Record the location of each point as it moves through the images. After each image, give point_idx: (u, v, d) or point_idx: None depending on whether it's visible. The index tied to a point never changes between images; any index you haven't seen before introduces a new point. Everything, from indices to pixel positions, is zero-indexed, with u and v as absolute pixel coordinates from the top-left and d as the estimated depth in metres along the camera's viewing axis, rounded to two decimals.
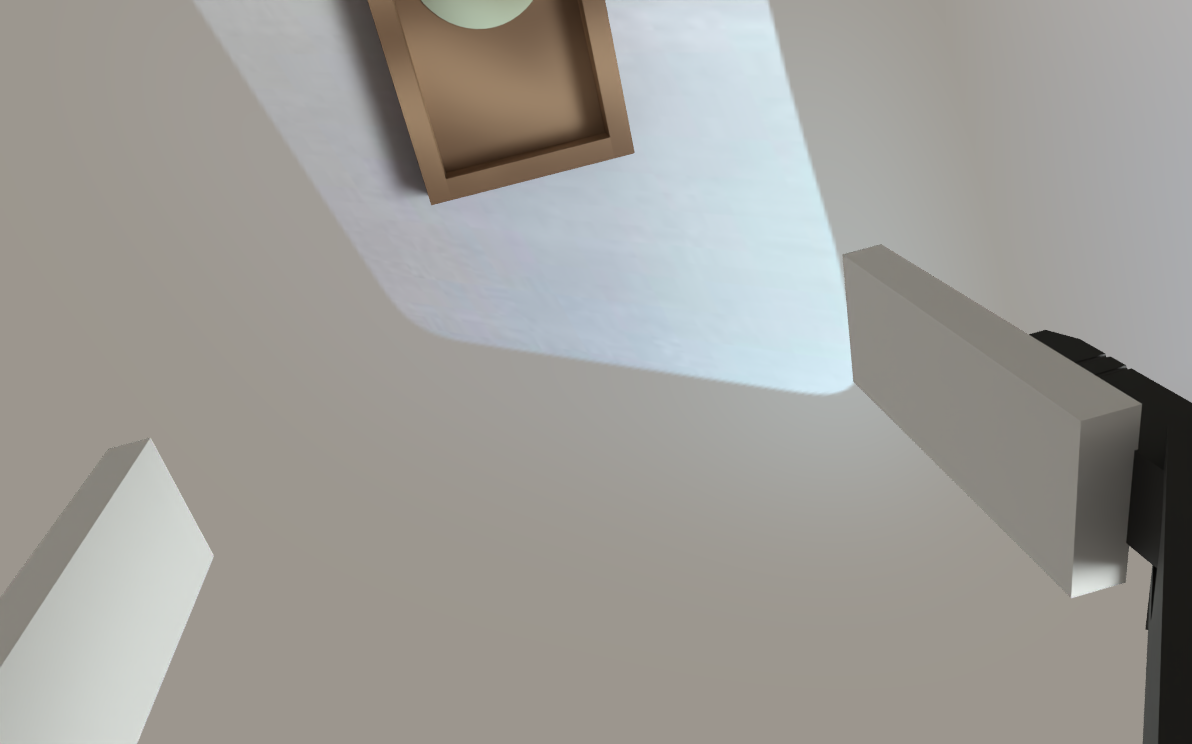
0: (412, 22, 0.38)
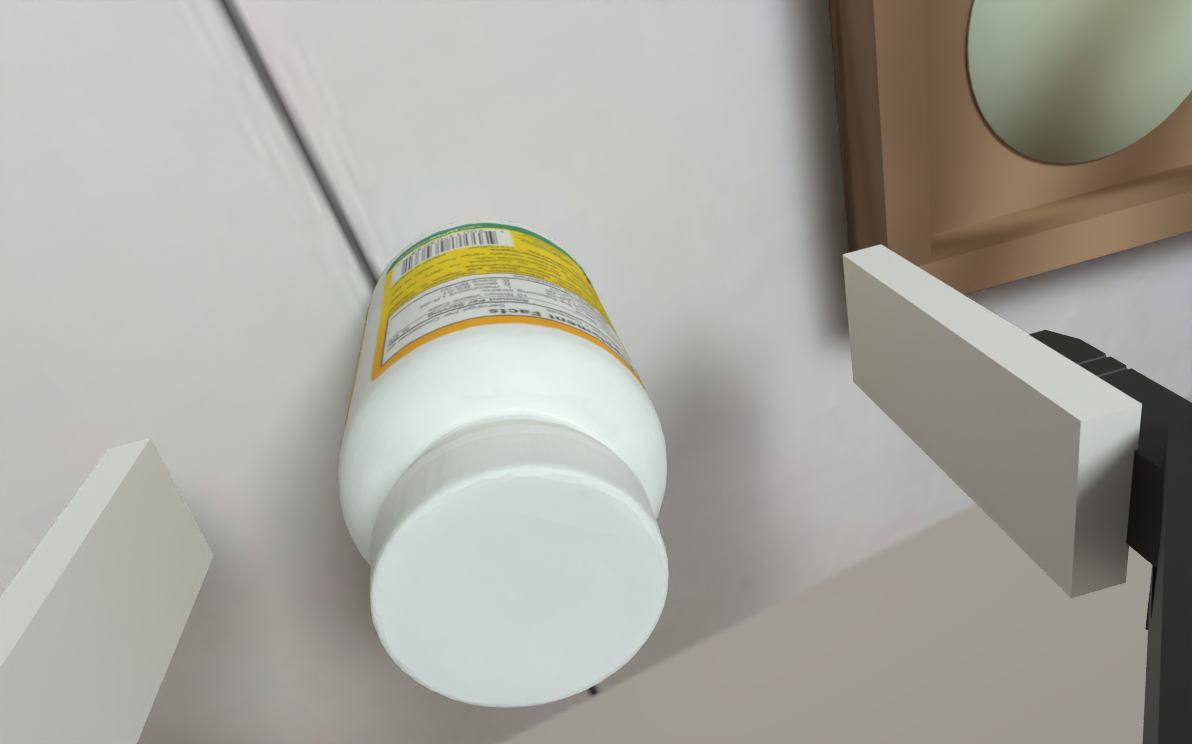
0: (1176, 148, 0.20)
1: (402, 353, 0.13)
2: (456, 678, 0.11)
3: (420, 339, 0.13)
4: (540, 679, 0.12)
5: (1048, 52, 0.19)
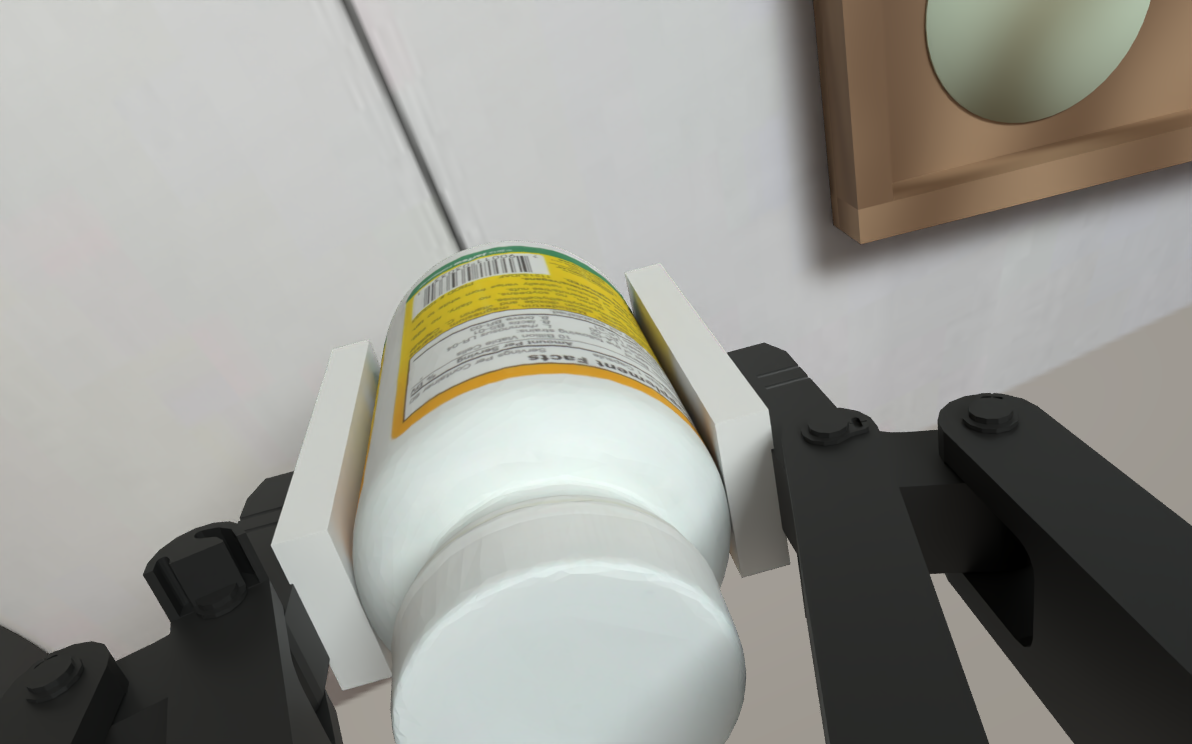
0: (1109, 111, 0.24)
1: (429, 407, 0.11)
2: None
3: (448, 391, 0.11)
4: None
5: (994, 29, 0.23)
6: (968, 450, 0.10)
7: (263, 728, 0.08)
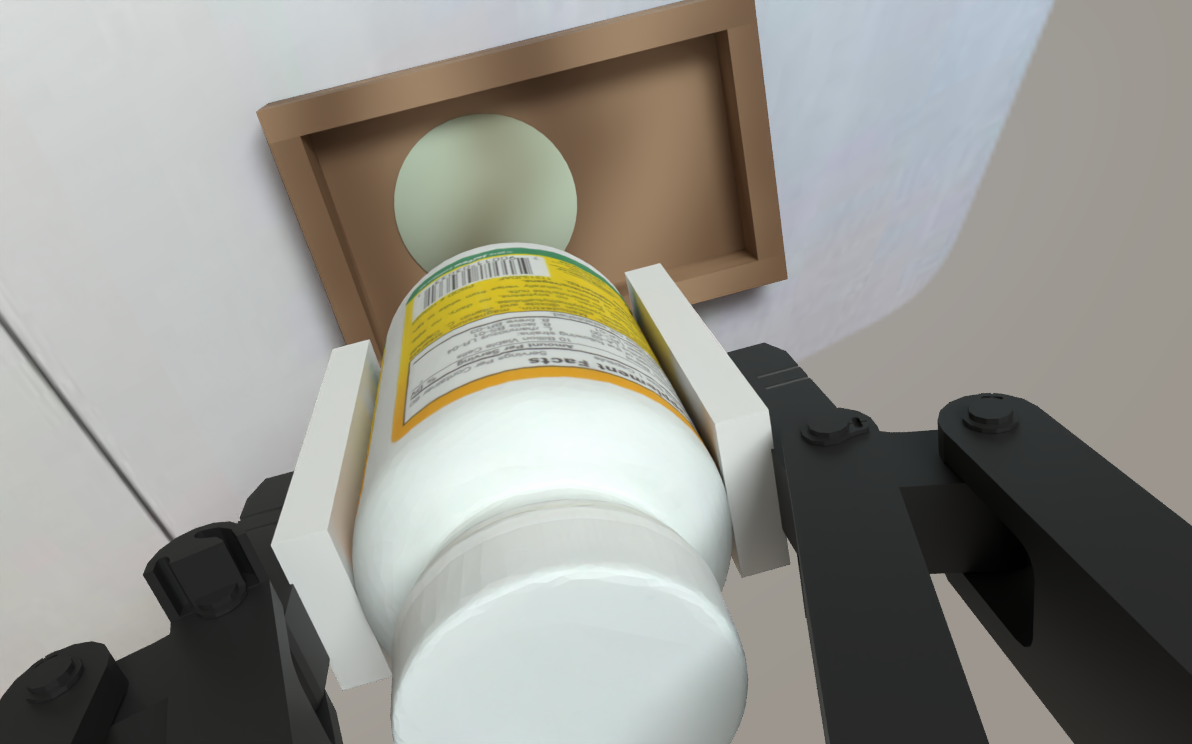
0: None
1: (428, 411, 0.11)
2: None
3: (449, 394, 0.11)
4: None
5: (454, 229, 0.30)
6: (968, 450, 0.10)
7: (263, 728, 0.08)
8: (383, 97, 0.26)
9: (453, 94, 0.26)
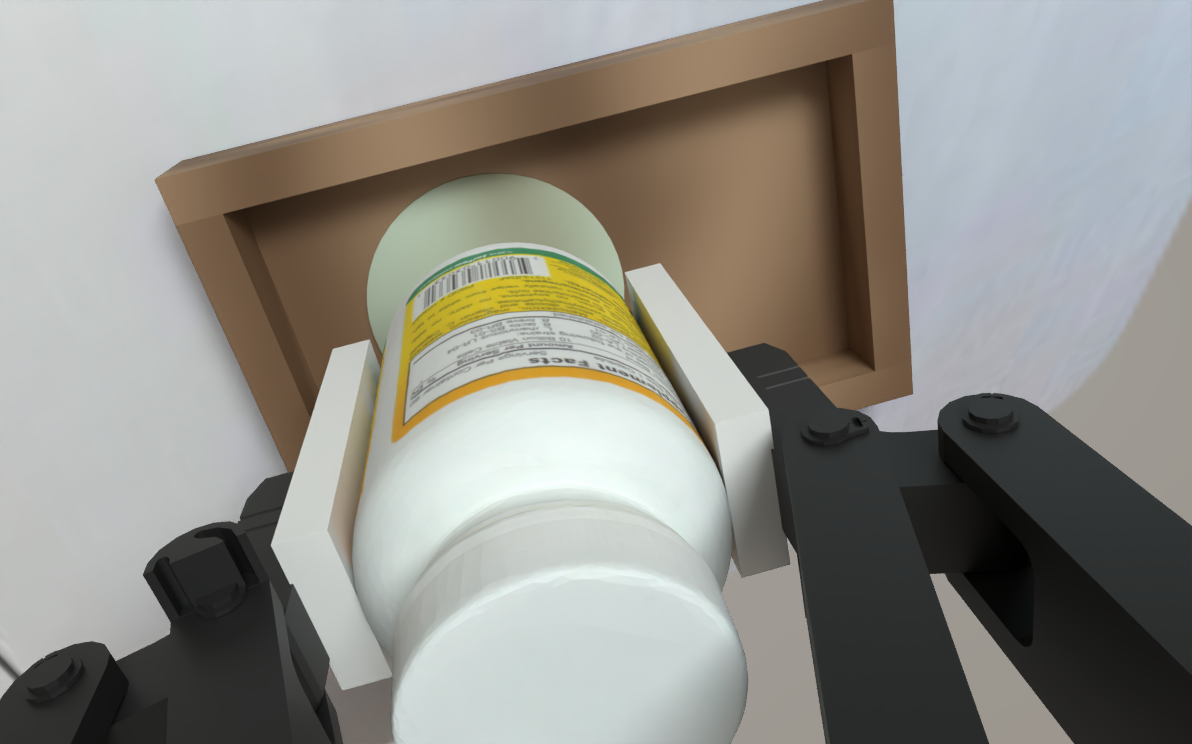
0: None
1: (429, 410, 0.11)
2: None
3: (449, 395, 0.11)
4: None
5: None
6: (968, 450, 0.10)
7: (263, 728, 0.08)
8: (346, 156, 0.18)
9: (451, 150, 0.18)
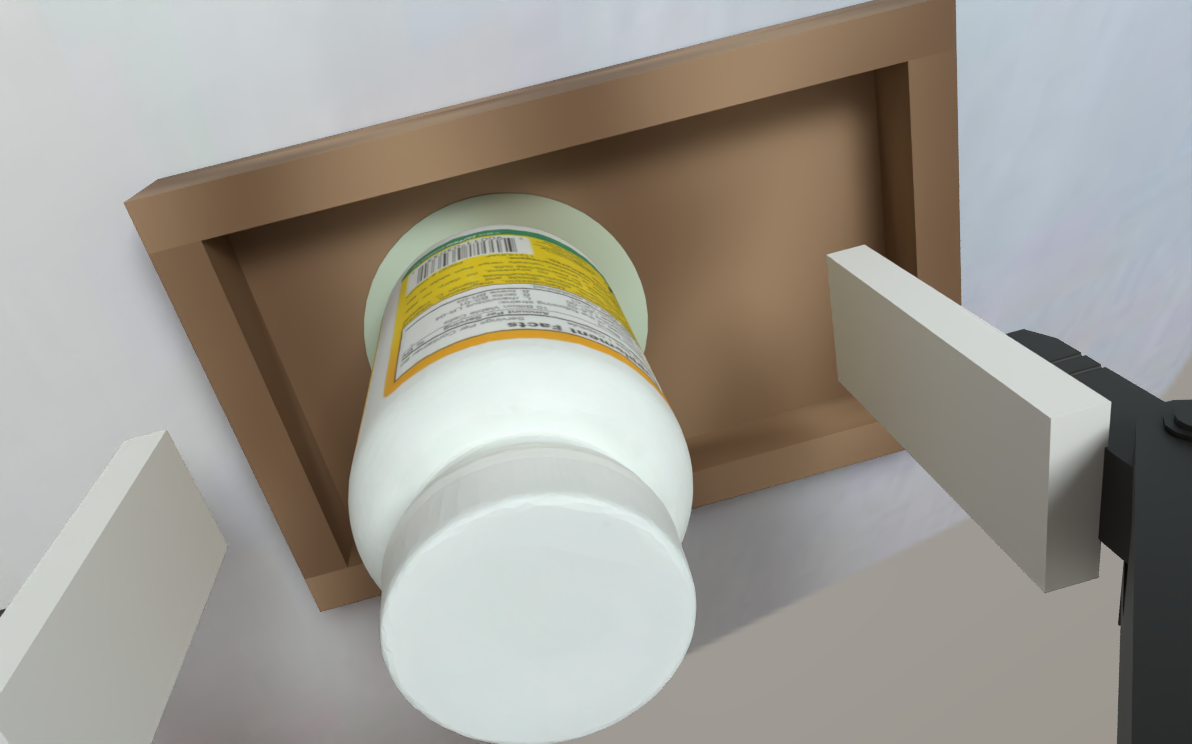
0: None
1: (417, 369, 0.12)
2: (470, 715, 0.11)
3: (435, 354, 0.12)
4: (558, 715, 0.11)
5: None
6: None
7: None
8: (340, 176, 0.16)
9: (457, 170, 0.16)
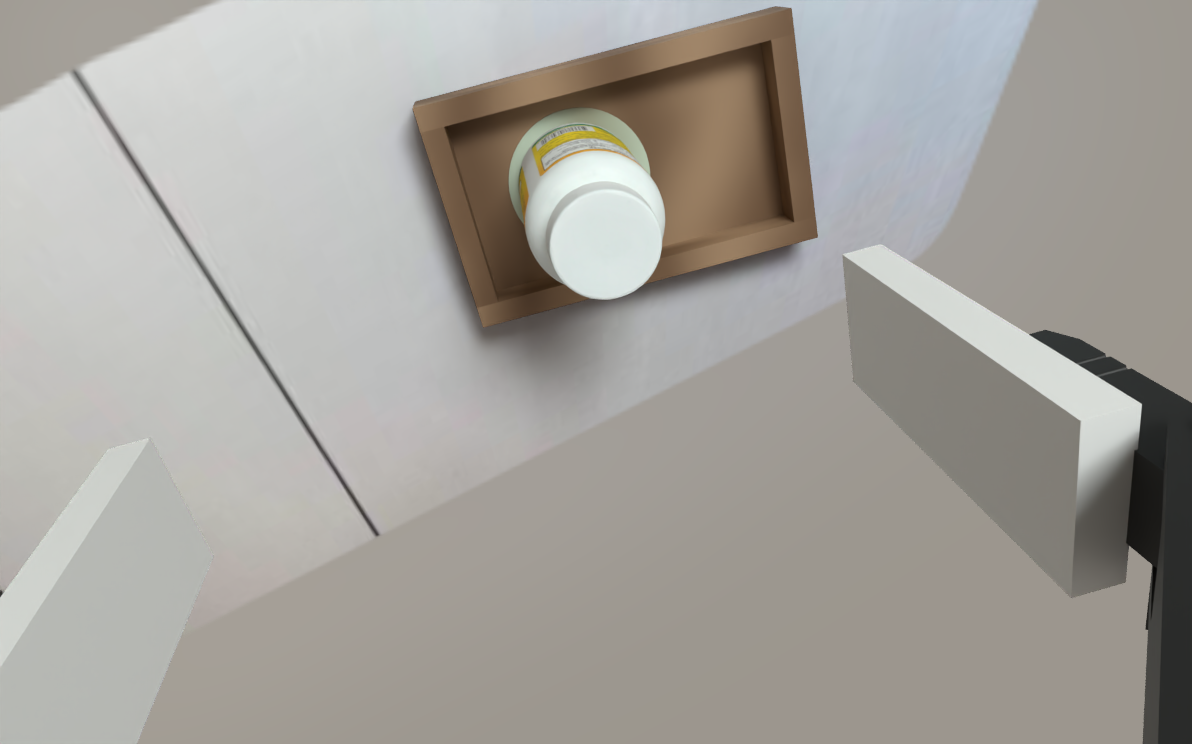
0: None
1: (554, 163, 0.31)
2: (579, 282, 0.29)
3: (561, 158, 0.31)
4: (611, 285, 0.30)
5: None
6: None
7: None
8: (507, 96, 0.34)
9: (560, 93, 0.34)
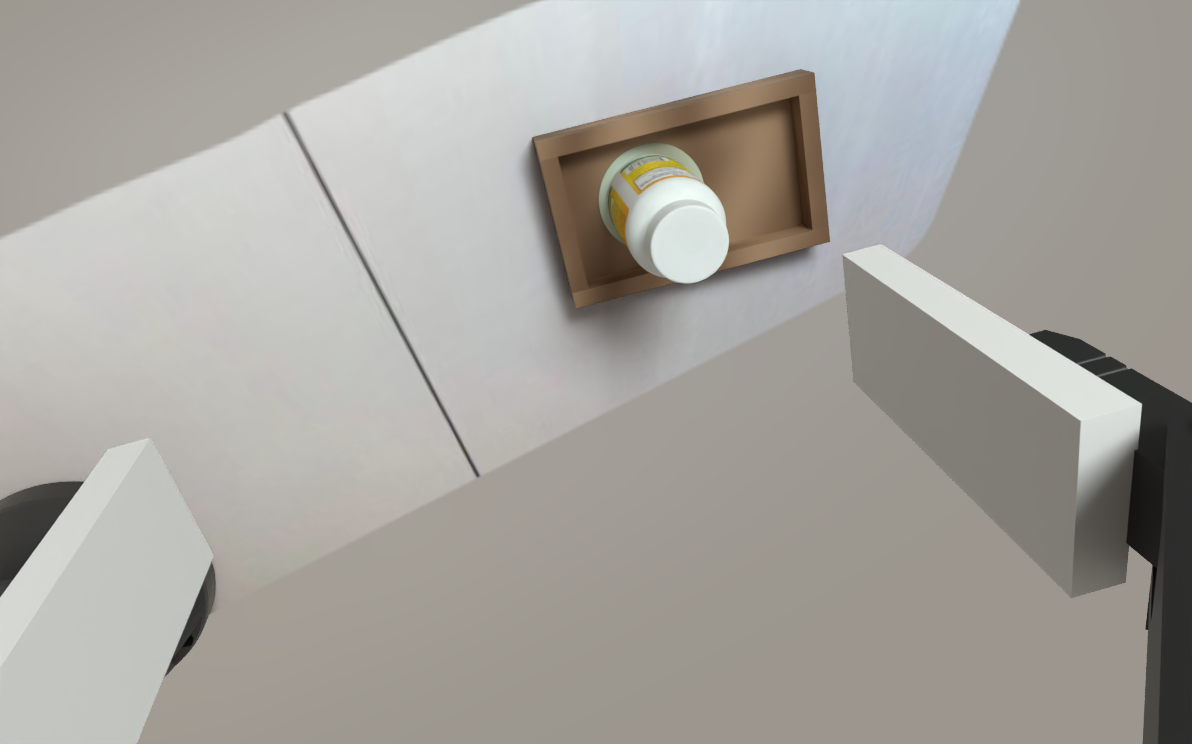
0: None
1: (648, 186, 0.43)
2: (669, 270, 0.41)
3: (653, 182, 0.43)
4: (692, 273, 0.42)
5: None
6: None
7: None
8: (605, 134, 0.46)
9: (644, 133, 0.46)
